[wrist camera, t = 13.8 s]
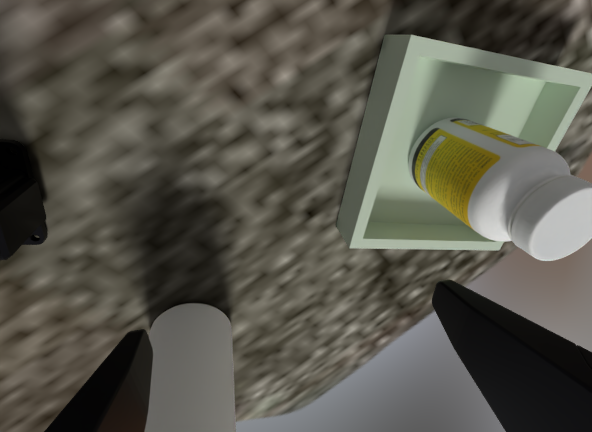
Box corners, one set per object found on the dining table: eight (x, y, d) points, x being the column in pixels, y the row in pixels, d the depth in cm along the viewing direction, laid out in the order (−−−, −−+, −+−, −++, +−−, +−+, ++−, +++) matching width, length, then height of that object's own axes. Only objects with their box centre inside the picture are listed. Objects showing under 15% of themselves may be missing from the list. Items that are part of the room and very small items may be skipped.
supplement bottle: (412, 200, 24) (514, 289, 16) (399, 136, 21) (515, 204, 13) (478, 170, 24) (615, 244, 16) (474, 102, 21) (640, 148, 13)
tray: (335, 225, 24) (349, 248, 22) (384, 34, 18) (411, 34, 16) (473, 230, 28) (499, 250, 25) (553, 70, 22) (597, 75, 19)
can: (205, 287, 25) (196, 464, 15) (244, 333, 28) (258, 501, 18) (133, 322, 25) (74, 520, 15) (180, 363, 28) (159, 546, 18)
